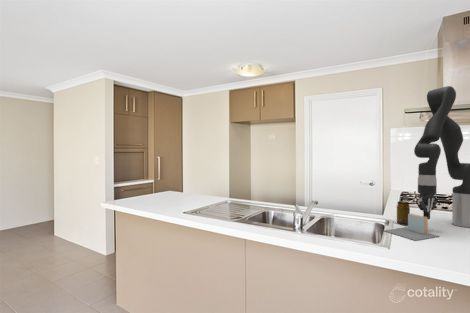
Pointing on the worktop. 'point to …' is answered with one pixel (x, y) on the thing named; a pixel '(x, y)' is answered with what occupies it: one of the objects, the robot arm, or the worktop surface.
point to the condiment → (403, 212)
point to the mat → (410, 234)
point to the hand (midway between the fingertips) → (426, 219)
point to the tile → (418, 223)
